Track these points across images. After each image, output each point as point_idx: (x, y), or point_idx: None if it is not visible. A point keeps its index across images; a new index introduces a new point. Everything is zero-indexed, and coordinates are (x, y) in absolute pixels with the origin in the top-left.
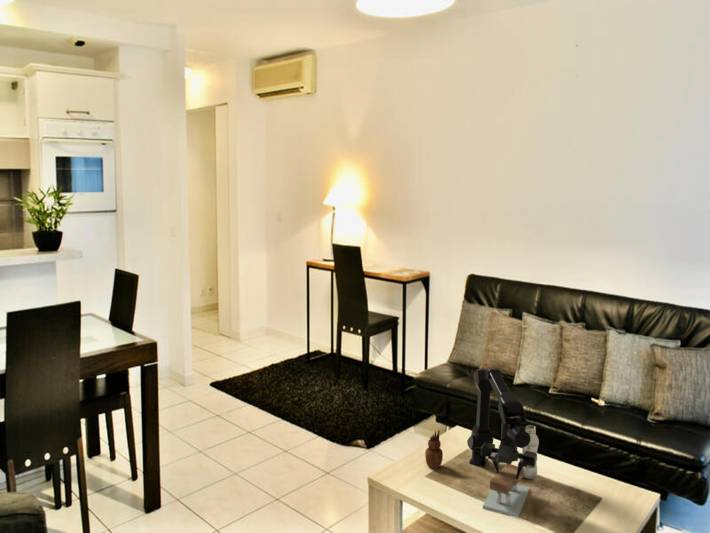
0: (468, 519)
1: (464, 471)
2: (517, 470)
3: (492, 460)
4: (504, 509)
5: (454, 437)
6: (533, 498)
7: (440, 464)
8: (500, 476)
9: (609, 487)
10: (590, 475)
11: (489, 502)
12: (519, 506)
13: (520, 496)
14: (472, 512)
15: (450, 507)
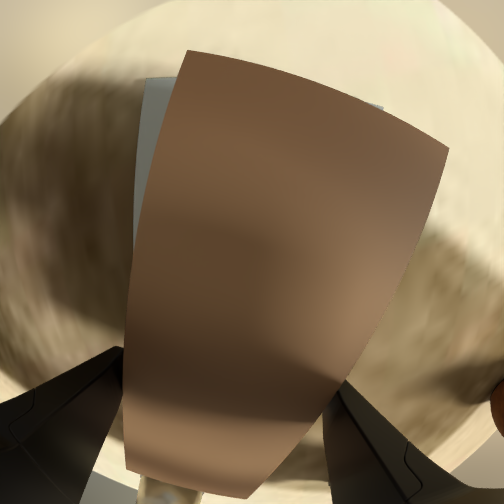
0: (415, 3)
1: (426, 412)
2: (53, 412)
3: (484, 494)
4: None
5: None
6: (111, 318)
7: (499, 394)
8: (311, 327)
9: (2, 400)
10: None
11: None
12: (146, 178)
13: None
14: (417, 60)
15: (500, 98)
